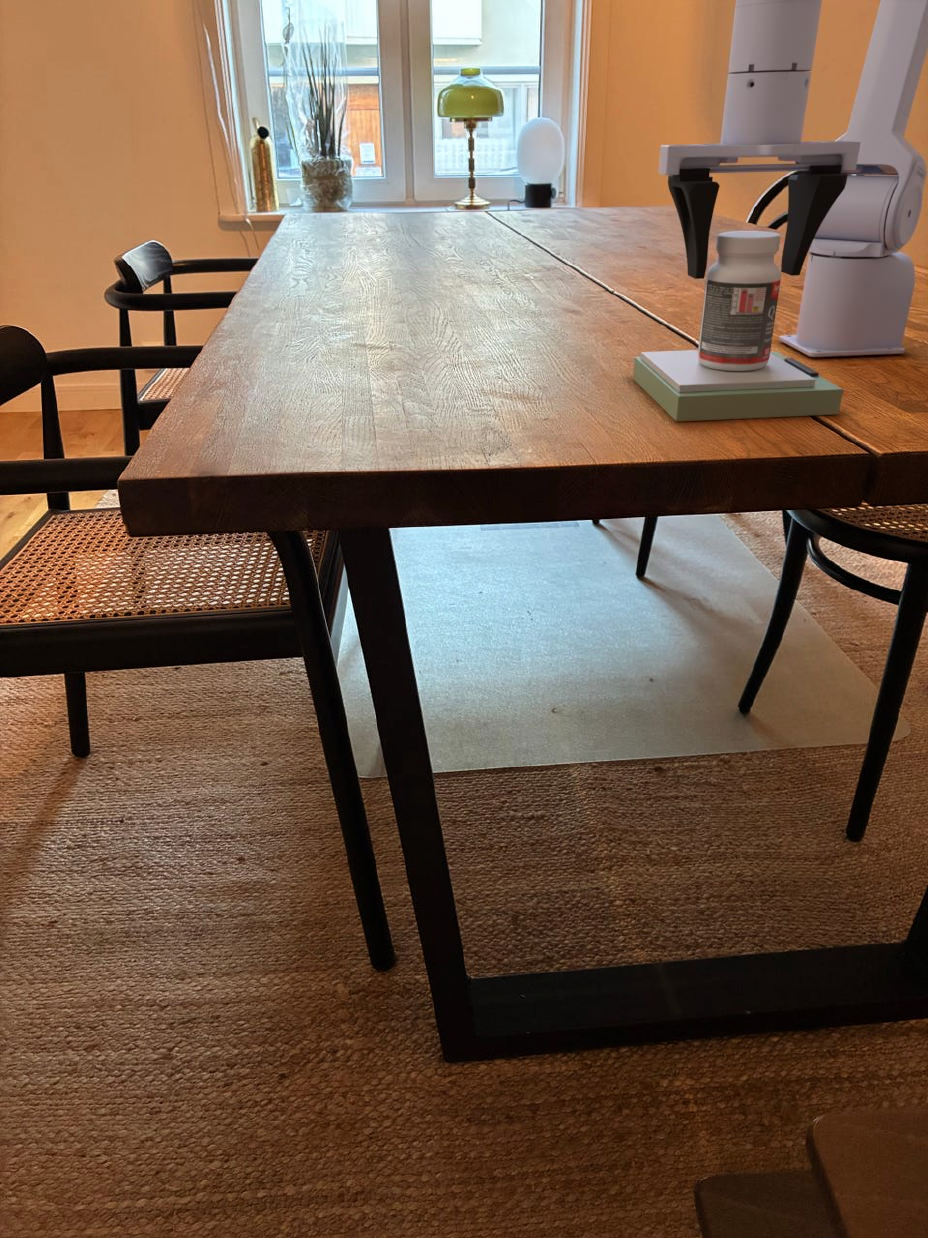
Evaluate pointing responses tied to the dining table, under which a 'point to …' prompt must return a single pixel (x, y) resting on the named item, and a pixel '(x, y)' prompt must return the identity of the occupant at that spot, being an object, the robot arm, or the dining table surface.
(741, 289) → the pill bottle
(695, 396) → the scale
